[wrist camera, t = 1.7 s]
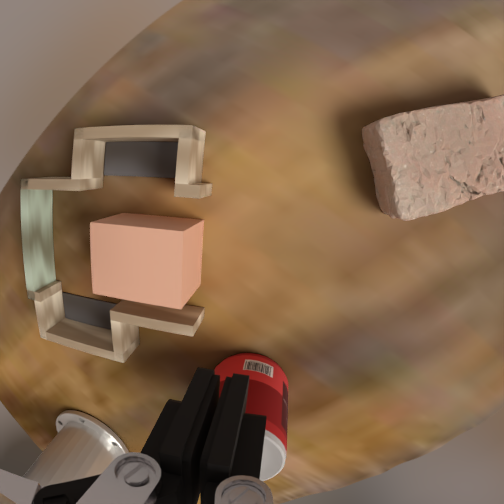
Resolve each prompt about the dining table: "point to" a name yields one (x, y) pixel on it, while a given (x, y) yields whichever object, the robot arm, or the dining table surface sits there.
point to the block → (147, 258)
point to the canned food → (263, 403)
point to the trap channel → (91, 177)
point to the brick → (436, 156)
